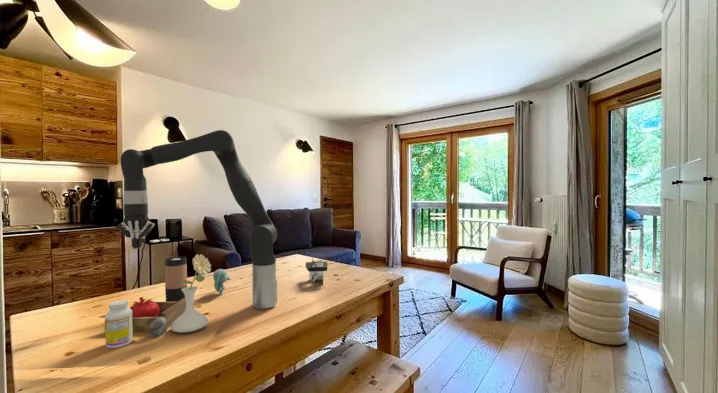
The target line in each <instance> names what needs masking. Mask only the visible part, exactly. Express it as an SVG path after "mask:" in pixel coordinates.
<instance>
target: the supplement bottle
mask: <svg viewBox="0 0 718 393" xmlns="http://www.w3.org/2000/svg"><path fill="white" fill-rule="evenodd" d="M128 306H129V301H128V300H127V299H121V300H116V301H112V302H109V303H108V309H109V311H108V312H106V313H105V315H104V316H105V317H104V334H105V347H106V348H108V349H118V348H122V347H125V346H127V345H129V344H130V343H132V341H133V337H134V336H133V335H134V334H133V333H134V332H133V327H132V310H131V309H130V307H128Z"/></svg>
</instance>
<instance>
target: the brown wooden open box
mask: <svg viewBox="0 0 718 393" xmlns="http://www.w3.org/2000/svg"><path fill="white" fill-rule="evenodd" d="M155 302H156V303H157V304H158V305H159V308H160V312H159V315H160V316H158V317H134V318H132V327H133V333H141V332H142V333H143V332H148V333H149V338H160V337H161V336H162V335H164V334H165V333H166V332H167V330H168V329H169V328H171V325H172V323H173V322H174V321H175V320H176V319H177V318H178V317H179V316H180V315H182V314H183V313H184V311H185V310H186V298H185V297H184V298H183V299H181V300H180V301H174V302H166V301H155Z"/></svg>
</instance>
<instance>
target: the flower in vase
mask: <svg viewBox="0 0 718 393" xmlns="http://www.w3.org/2000/svg"><path fill="white" fill-rule="evenodd" d="M191 263H192V265H193V270H194V271H195V274H194V277H193V280H192V281H190V280H187V281H186V280H184V283H185V284H187V285H190V286H187V287H185V288H182V289H181V290H182V292H183V293H184V295H185V298H186V310H185V311H184V313H183V314H182V315H180V316H179V317H178V318H177V319H176V320H175V321H174V322H173V323H172V325H171V326H170V329H171V331H172V332H175V333H181V334H182V333H183V334H184V333H192V332H195V331H198V330H200V329H203V328H204V327H205V326H206V325H208V323H209V317H207V316H206V315H205V314H203V313H201V312H199V311H198V310H196V309H195V306H194V300H195V294H196V291H197V290H198V289H199V288H198V286H195V285H193V284H194V282H195V281H197V282H198V283H201V282H203V281H204V280H205V279H206V277H205V276H207V275H208V274H209V273H211V271H212V268H211V267H212V264H211V261H209V258H208V257H205V255H204V254H202V253H200V254H198V253H197V254H196V255H194V257H192V262H191ZM197 274H198V275H197Z"/></svg>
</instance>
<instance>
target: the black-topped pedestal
mask: <svg viewBox="0 0 718 393" xmlns="http://www.w3.org/2000/svg"><path fill="white" fill-rule="evenodd" d="M305 268H306V270H307V271H308V273H309V274H308V276H309V277H308V278H309V279H308V280H309V281H311V283H314V282H315V281H318V280H319V281H320V280H322V285H323V286H324V285H325V284H324V281H325V280H324V278H325V277H324V272H327V271H328V261H324V260H315V261H314V257H313V256H312V257H311V261H307V262H305Z"/></svg>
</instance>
